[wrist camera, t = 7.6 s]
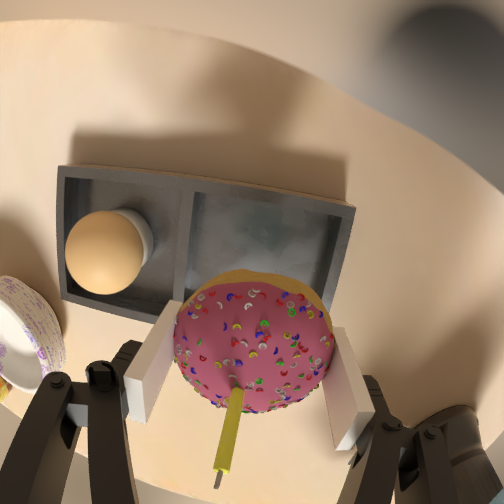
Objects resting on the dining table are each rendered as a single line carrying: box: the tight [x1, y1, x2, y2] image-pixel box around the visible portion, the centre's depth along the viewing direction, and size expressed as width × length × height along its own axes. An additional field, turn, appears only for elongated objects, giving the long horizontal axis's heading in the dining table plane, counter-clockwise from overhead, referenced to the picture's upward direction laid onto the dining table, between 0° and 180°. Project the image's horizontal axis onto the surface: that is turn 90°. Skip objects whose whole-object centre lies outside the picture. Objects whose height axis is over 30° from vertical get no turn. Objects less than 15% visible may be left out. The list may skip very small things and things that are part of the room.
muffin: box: [65, 208, 153, 294], centre depth 24 cm, size 7×7×8 cm
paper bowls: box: [0, 275, 66, 394], centre depth 29 cm, size 15×15×8 cm
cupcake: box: [173, 269, 334, 489], centre depth 14 cm, size 9×8×12 cm
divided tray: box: [56, 164, 356, 324], centre depth 27 cm, size 27×14×4 cm, turn 81°
